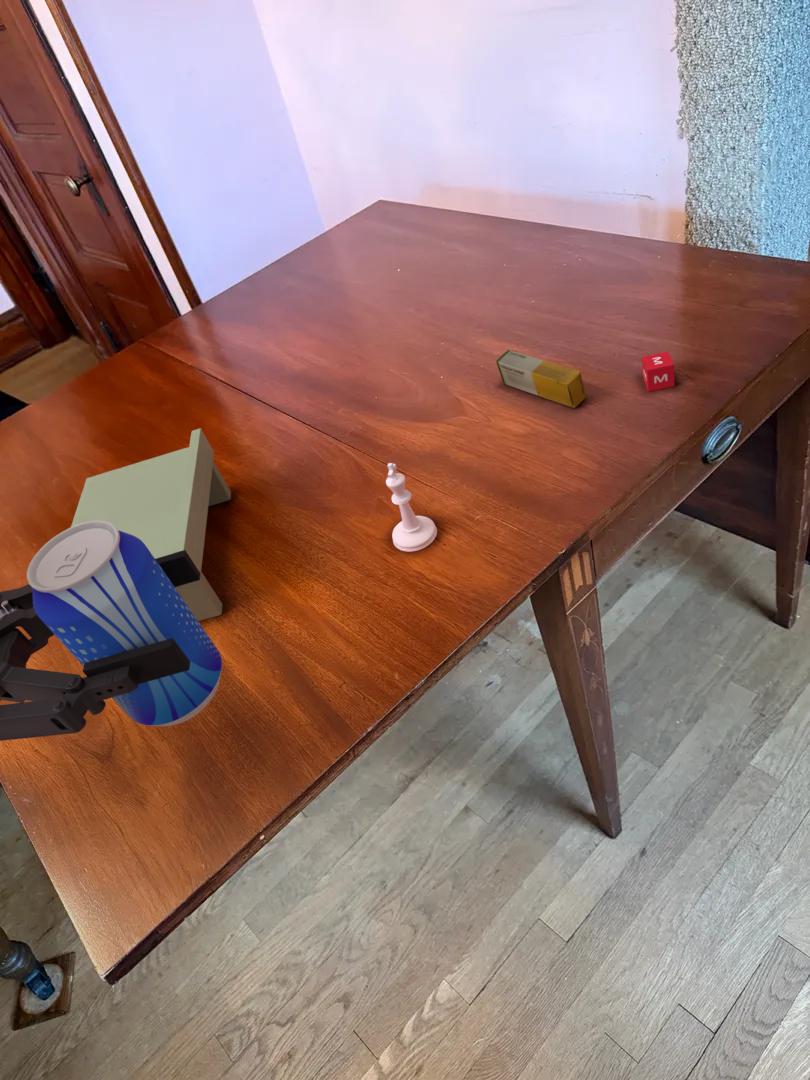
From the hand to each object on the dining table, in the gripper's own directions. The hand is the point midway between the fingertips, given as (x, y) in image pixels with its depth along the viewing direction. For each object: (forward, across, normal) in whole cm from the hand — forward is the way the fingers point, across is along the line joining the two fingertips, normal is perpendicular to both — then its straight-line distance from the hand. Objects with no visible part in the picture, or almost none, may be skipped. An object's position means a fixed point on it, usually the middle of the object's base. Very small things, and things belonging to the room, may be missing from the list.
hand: (186, 606), depth 55 cm
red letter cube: (+48, -35, -18) cm, 62 cm away
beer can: (-5, 0, -9) cm, 10 cm away
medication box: (+35, -40, -18) cm, 56 cm away
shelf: (-14, -28, -18) cm, 36 cm away
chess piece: (+16, -21, -18) cm, 32 cm away
